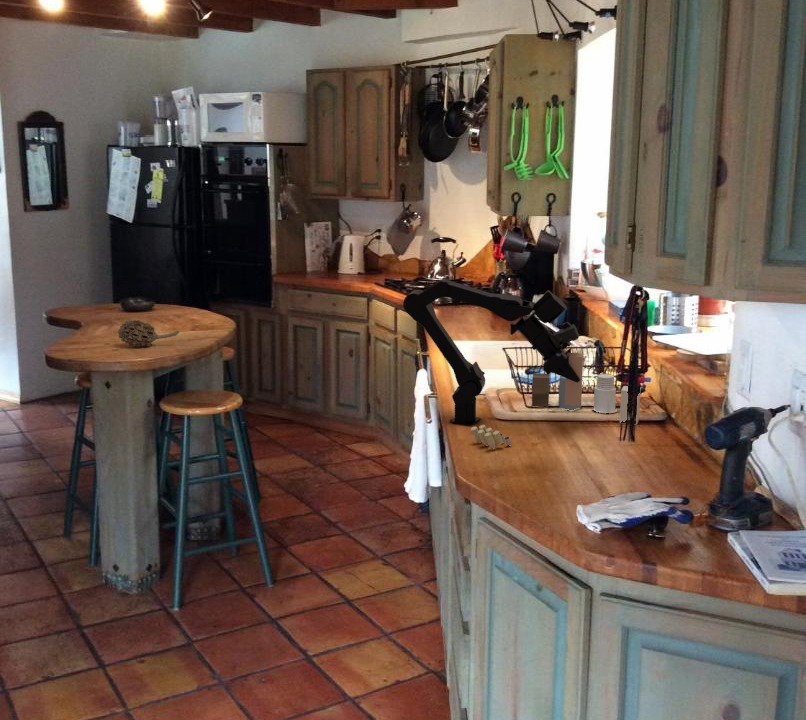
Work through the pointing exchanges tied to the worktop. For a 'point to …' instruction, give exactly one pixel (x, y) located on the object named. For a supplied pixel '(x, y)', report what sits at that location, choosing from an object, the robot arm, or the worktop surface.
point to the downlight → (605, 394)
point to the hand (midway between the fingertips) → (579, 379)
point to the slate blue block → (562, 395)
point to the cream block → (624, 405)
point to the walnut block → (540, 389)
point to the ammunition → (489, 436)
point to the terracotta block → (573, 388)
